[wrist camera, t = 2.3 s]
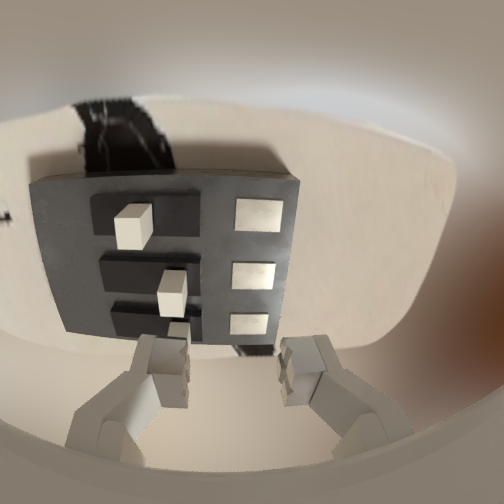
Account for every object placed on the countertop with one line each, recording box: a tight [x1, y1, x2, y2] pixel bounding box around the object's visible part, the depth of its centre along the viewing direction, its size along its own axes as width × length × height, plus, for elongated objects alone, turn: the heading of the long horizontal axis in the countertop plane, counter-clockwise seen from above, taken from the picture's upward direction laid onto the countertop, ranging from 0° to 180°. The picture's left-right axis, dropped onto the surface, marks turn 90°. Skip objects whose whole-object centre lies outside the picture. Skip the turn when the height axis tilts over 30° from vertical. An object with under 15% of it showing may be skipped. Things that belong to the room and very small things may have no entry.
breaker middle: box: [157, 270, 187, 317], centre depth 20 cm, size 2×2×3 cm
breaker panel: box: [29, 169, 300, 345], centre depth 24 cm, size 24×17×4 cm
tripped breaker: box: [114, 204, 153, 250], centre depth 18 cm, size 2×2×3 cm
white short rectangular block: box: [168, 322, 191, 356], centre depth 23 cm, size 2×2×3 cm
